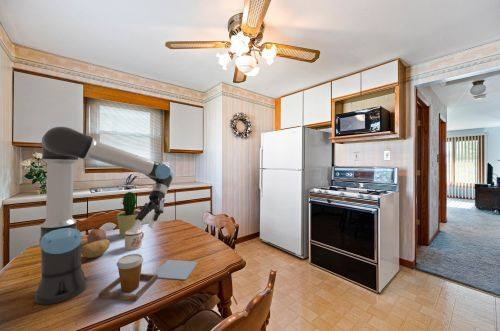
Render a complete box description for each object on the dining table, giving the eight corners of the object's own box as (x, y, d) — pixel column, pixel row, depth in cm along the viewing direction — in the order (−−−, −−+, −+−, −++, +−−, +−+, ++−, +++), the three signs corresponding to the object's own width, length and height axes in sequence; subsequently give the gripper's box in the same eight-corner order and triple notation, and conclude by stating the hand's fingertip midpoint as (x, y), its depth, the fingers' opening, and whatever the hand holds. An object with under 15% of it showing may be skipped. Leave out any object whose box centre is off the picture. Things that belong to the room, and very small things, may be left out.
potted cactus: (146, 234, 149) (146, 191, 148) (121, 240, 137) (121, 193, 136) (137, 229, 159) (137, 188, 158) (113, 234, 147) (113, 190, 147)
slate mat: (150, 277, 95) (150, 276, 95) (168, 260, 111) (168, 259, 111) (185, 280, 93) (185, 279, 93) (198, 262, 109) (198, 261, 109)
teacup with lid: (132, 251, 121) (132, 230, 121) (120, 248, 124) (120, 228, 124) (149, 243, 133) (149, 224, 132) (137, 241, 136) (137, 223, 135)
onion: (90, 248, 132) (85, 233, 133) (108, 241, 137) (103, 226, 138) (89, 248, 124) (83, 231, 125) (107, 240, 129) (102, 224, 130)
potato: (115, 252, 120) (115, 238, 120) (89, 263, 107) (89, 247, 106) (102, 249, 123) (102, 235, 123) (75, 260, 110) (75, 244, 110)
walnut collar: (98, 297, 81) (98, 293, 81) (125, 276, 96) (125, 272, 96) (136, 301, 79) (136, 296, 79) (157, 278, 94) (157, 274, 94)
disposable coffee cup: (148, 285, 89) (148, 257, 89) (124, 298, 81) (124, 266, 81) (135, 278, 94) (135, 251, 94) (111, 289, 86) (111, 259, 86)
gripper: (178, 191, 115) (164, 228, 101) (150, 202, 126) (133, 237, 112) (167, 183, 111) (151, 221, 96) (139, 195, 122) (120, 231, 108)
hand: (142, 230), depth 104 cm, fingers open, 13 cm apart
